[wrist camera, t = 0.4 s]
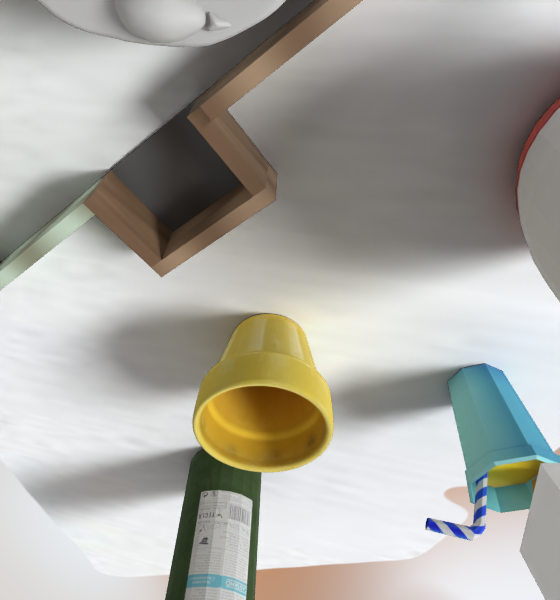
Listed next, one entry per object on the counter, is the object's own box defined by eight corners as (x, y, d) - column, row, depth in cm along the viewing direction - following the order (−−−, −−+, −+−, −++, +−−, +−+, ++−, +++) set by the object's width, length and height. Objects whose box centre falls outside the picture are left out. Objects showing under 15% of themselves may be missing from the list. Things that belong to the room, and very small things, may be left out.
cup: (384, 405, 48) (414, 563, 36) (402, 347, 43) (444, 507, 31) (523, 414, 48) (599, 573, 37) (556, 358, 44) (656, 520, 32)
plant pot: (188, 352, 44) (166, 443, 36) (248, 274, 39) (238, 361, 31) (283, 396, 48) (281, 489, 40) (350, 330, 42) (364, 421, 34)
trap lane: (97, -779, 15) (45, -969, 12) (469, 39, 28) (492, 53, 25) (-320, 28, 29) (-395, 40, 26) (64, 323, 42) (45, 355, 39)
